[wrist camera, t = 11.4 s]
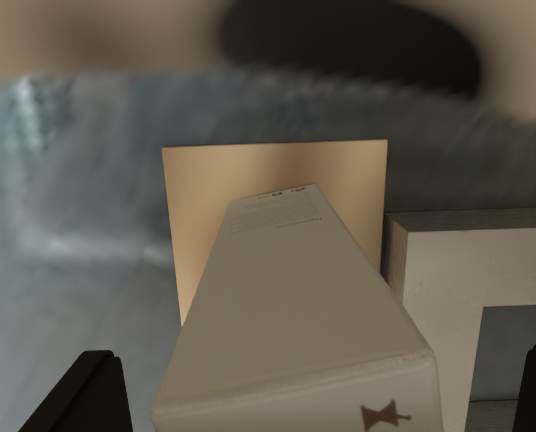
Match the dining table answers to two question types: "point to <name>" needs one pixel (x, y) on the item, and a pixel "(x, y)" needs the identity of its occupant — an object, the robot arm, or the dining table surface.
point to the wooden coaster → (263, 182)
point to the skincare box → (296, 332)
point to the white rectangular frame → (460, 292)
